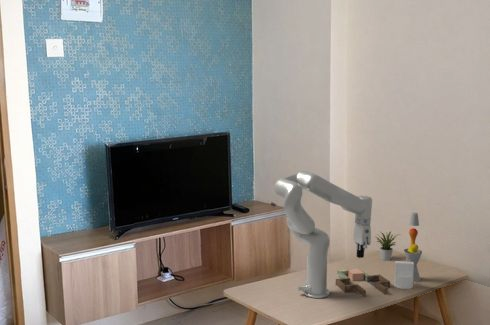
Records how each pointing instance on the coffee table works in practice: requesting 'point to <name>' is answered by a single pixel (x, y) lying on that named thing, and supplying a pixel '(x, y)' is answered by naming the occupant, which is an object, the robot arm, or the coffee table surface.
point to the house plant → (386, 246)
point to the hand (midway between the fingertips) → (360, 257)
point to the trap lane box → (345, 285)
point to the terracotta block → (356, 275)
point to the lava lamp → (413, 247)
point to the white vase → (403, 274)
